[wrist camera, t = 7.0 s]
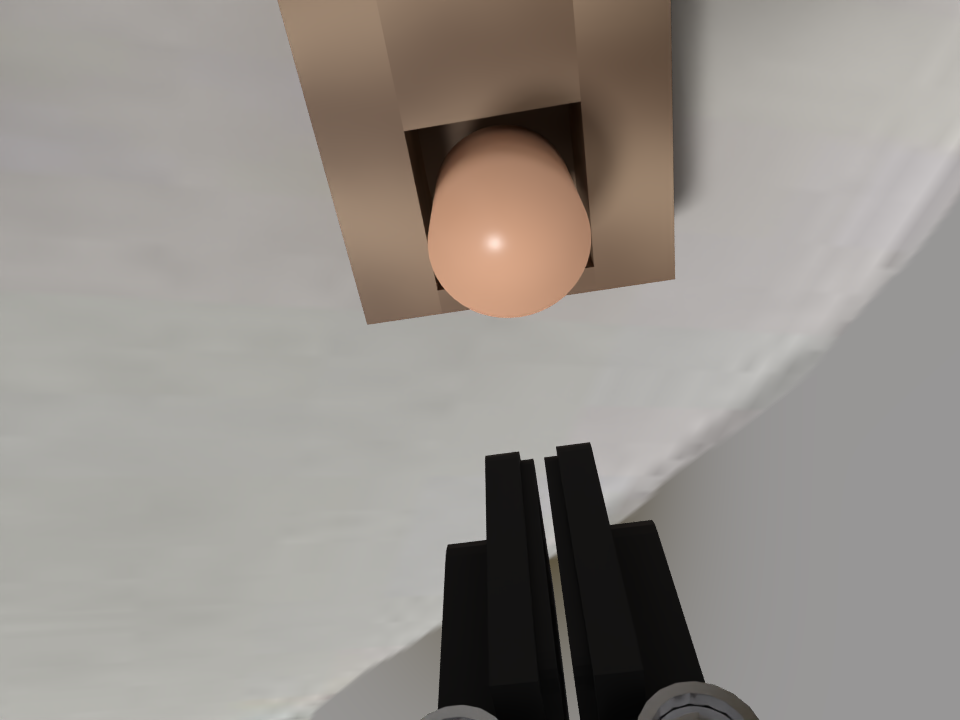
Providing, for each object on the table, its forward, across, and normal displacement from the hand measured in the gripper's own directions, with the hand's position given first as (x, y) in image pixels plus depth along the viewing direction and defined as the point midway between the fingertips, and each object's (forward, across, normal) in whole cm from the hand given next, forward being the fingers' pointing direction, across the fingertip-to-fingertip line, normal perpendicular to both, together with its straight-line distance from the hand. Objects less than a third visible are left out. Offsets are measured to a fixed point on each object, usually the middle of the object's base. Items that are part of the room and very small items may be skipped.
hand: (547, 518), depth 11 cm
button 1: (+17, 0, 0) cm, 17 cm away
